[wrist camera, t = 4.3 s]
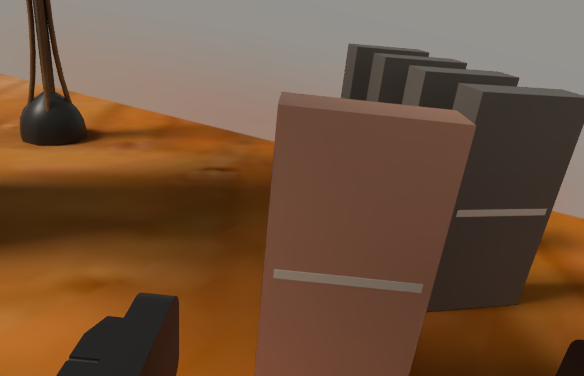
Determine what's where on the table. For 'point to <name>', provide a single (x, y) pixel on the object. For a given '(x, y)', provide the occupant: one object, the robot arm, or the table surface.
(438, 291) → the charcoal domino
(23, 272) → the table surface
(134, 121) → the table surface
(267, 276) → the terracotta domino
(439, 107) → the charcoal domino
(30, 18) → the wooden tabletop sculpture
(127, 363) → the robot arm
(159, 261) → the table surface
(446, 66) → the charcoal domino
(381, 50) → the charcoal domino
